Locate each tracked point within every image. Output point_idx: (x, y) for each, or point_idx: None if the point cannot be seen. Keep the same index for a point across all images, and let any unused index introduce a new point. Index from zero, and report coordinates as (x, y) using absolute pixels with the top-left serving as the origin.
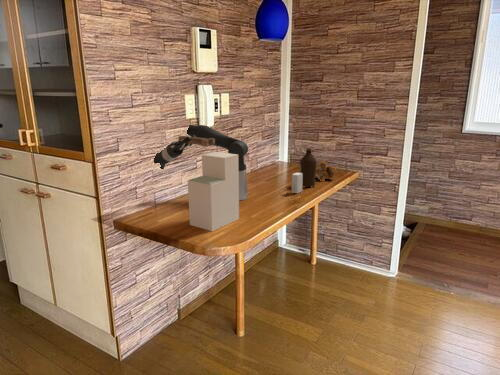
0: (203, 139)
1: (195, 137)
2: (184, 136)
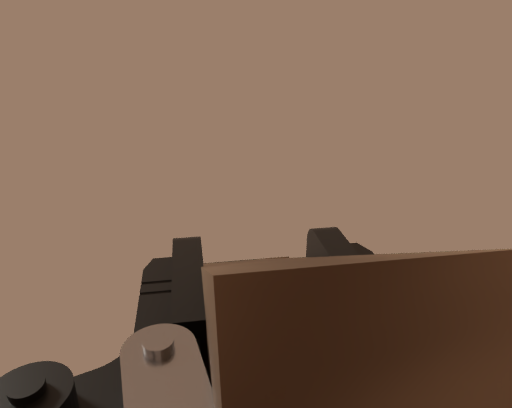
0: (269, 258)
1: (225, 263)
2: (299, 262)
